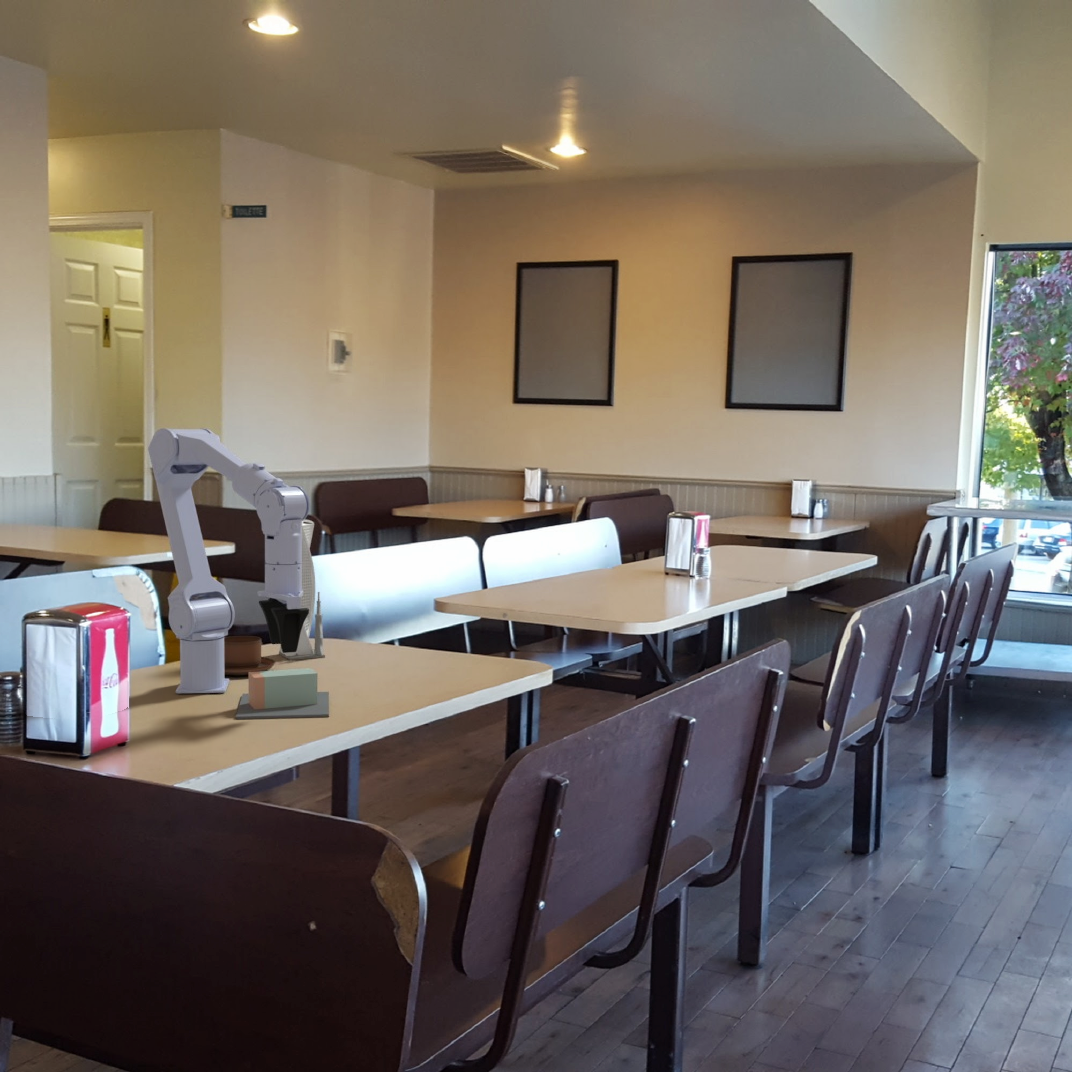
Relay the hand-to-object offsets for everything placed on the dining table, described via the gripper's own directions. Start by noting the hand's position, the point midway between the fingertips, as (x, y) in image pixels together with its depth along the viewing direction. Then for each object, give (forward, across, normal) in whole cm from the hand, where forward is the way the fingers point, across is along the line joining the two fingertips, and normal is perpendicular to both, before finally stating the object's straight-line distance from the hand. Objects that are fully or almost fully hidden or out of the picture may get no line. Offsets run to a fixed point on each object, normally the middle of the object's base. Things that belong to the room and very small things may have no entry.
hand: (283, 647), depth 194 cm
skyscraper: (+10, -41, +12) cm, 44 cm away
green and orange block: (+9, 0, 0) cm, 9 cm away
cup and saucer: (+10, -29, -1) cm, 31 cm away
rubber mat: (+9, 0, 0) cm, 9 cm away
